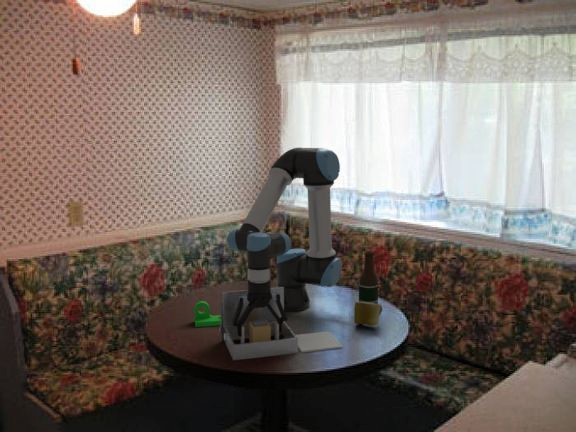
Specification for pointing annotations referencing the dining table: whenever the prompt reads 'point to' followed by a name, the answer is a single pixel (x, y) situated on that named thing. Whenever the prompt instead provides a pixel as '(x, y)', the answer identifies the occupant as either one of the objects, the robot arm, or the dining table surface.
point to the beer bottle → (368, 281)
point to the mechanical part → (205, 316)
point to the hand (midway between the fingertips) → (259, 343)
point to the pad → (317, 342)
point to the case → (230, 331)
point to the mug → (367, 313)
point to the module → (259, 331)
